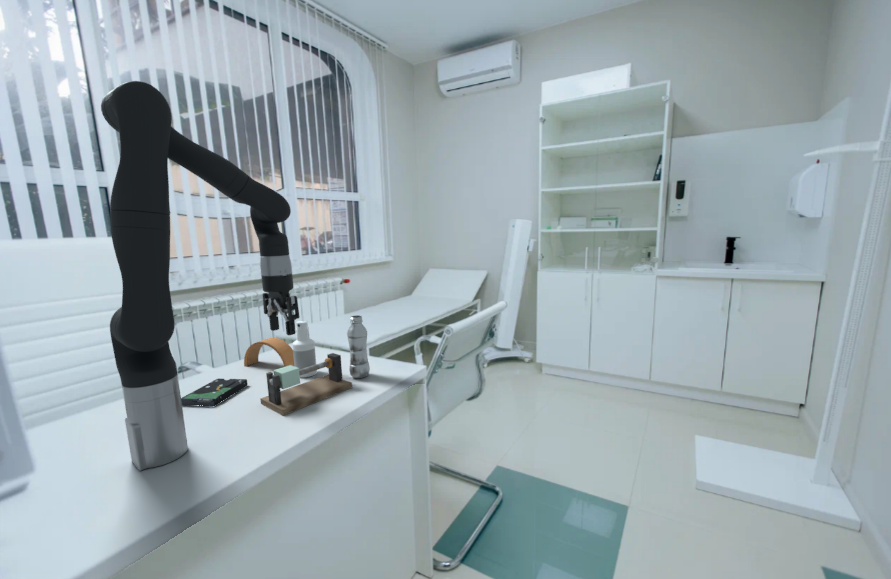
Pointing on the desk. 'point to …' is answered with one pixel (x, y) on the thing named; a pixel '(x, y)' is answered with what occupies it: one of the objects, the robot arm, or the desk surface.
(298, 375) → the sleeve
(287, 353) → the arch
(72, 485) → the desk surface
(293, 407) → the rod stand
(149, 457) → the robot arm
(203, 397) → the disk drive
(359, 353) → the plastic bottle
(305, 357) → the spray bottle
